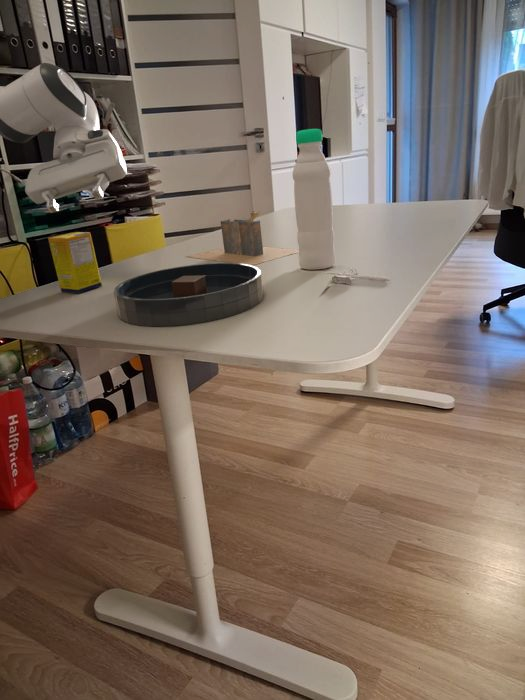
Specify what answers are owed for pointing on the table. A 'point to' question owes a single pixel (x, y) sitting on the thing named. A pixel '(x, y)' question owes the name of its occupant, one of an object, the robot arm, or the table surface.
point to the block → (189, 286)
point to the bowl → (164, 310)
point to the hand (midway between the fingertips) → (74, 203)
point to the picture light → (349, 277)
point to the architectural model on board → (243, 244)
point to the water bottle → (313, 203)
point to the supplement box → (75, 262)
